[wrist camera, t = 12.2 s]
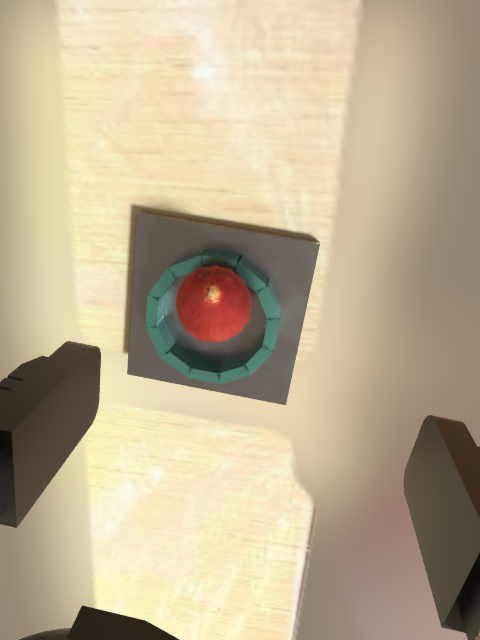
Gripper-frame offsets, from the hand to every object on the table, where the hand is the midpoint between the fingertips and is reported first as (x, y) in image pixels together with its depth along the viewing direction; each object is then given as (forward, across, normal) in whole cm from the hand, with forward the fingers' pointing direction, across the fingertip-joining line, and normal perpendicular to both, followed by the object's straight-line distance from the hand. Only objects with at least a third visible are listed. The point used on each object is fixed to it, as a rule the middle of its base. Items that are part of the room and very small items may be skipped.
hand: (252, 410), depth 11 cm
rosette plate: (+28, +5, +9) cm, 30 cm away
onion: (+26, +4, +9) cm, 28 cm away
